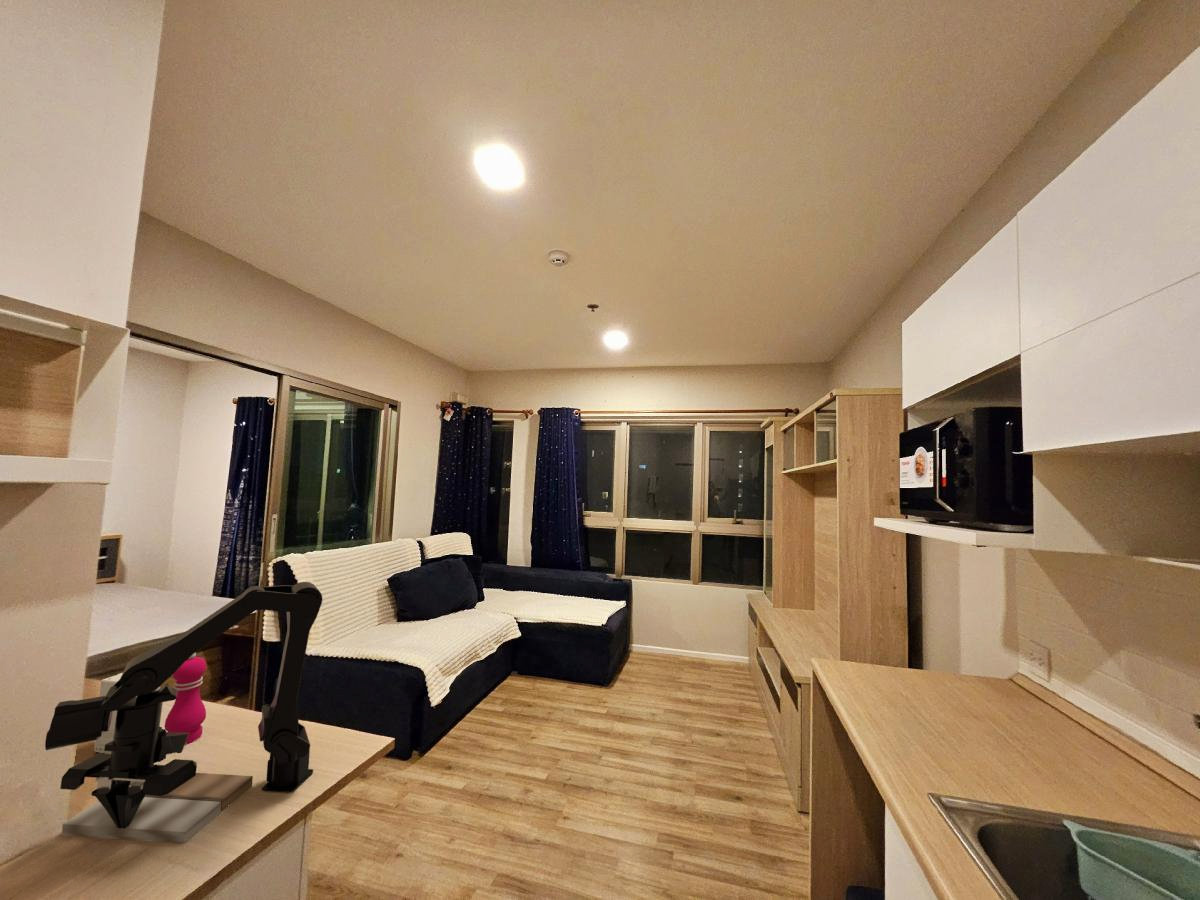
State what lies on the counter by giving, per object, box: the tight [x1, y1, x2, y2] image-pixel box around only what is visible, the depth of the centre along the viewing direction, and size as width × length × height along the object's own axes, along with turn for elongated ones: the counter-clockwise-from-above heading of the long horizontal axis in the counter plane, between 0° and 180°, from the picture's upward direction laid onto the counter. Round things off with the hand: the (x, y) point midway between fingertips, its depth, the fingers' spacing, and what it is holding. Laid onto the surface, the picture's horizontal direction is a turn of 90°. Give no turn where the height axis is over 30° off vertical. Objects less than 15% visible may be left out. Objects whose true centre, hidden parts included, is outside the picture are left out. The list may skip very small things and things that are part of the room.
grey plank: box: [61, 797, 222, 844], centre depth 82 cm, size 22×7×2 cm, turn 88°
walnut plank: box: [145, 772, 254, 812], centre depth 89 cm, size 22×7×2 cm, turn 88°
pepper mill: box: [164, 652, 208, 745], centre depth 107 cm, size 7×7×20 cm
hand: (123, 826), depth 78 cm, fingers closed
